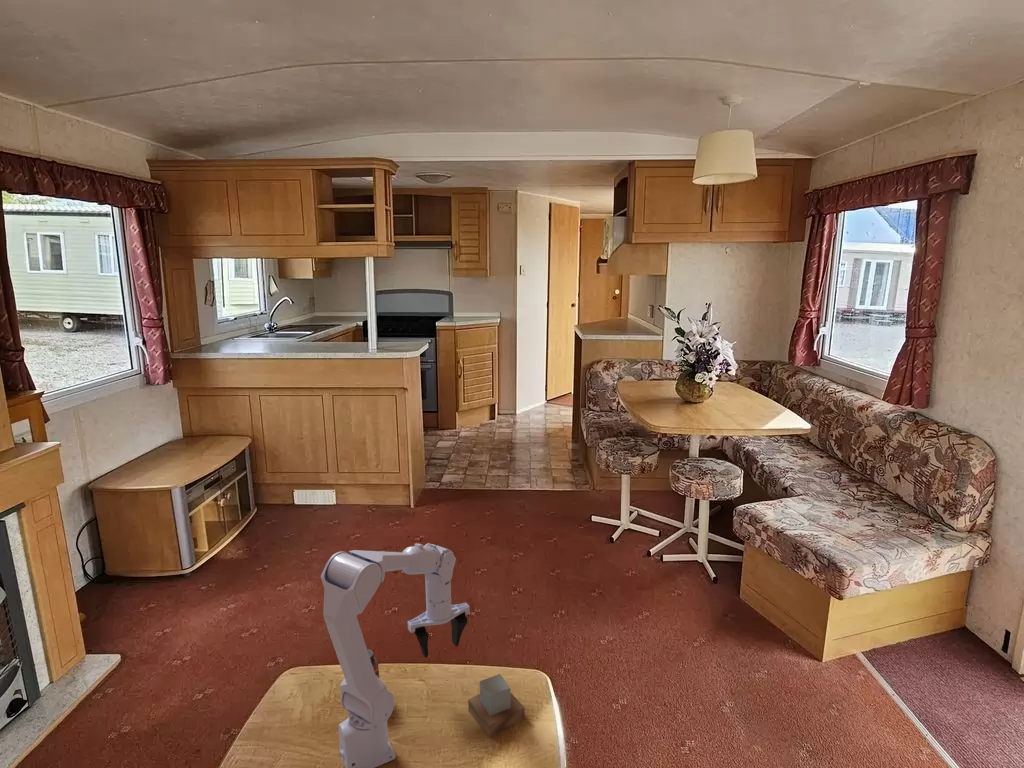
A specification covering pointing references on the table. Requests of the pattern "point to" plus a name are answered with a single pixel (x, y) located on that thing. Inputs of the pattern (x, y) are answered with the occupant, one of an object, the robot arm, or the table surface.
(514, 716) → the walnut block
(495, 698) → the grey cube
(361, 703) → the robot arm
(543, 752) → the table surface
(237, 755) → the table surface
